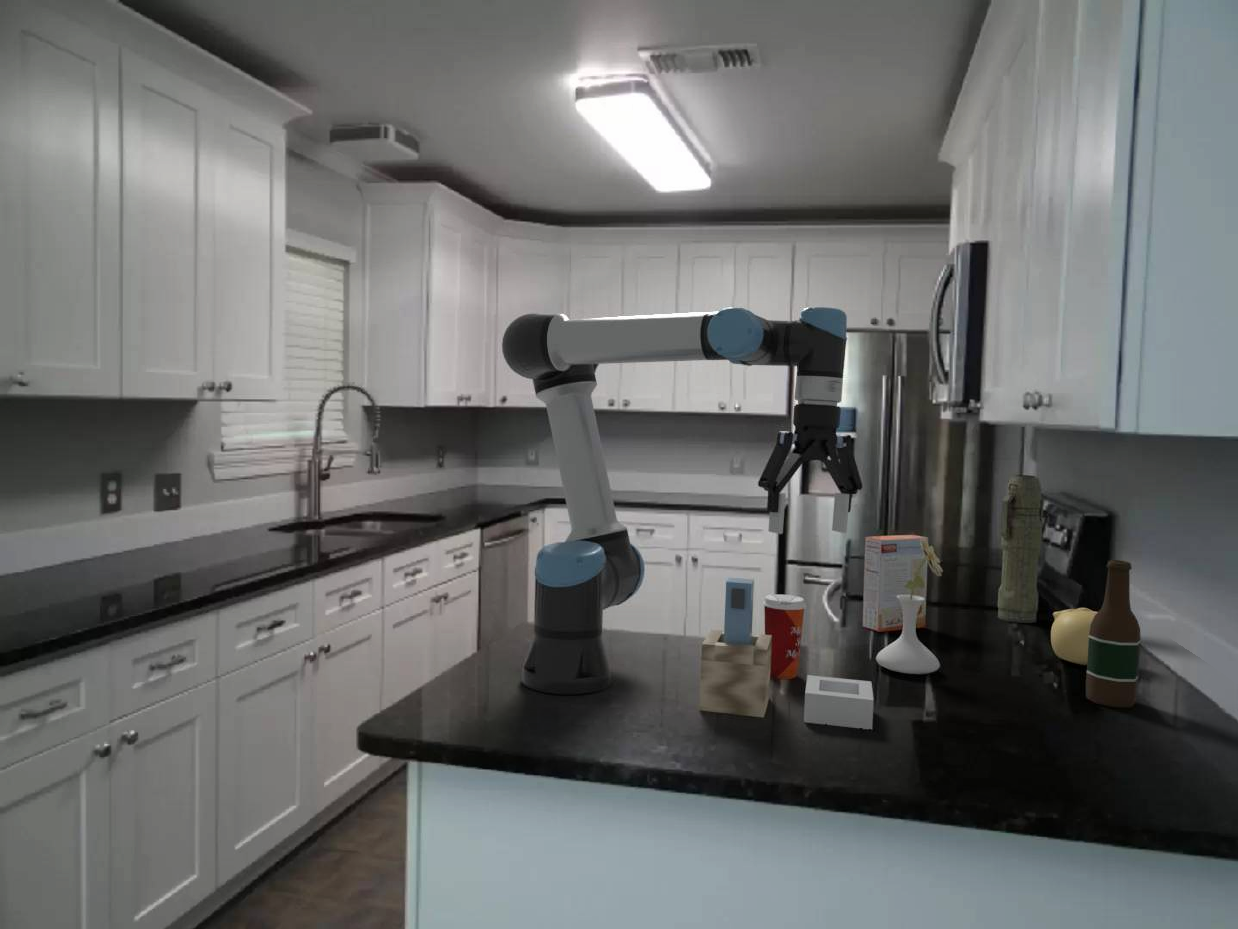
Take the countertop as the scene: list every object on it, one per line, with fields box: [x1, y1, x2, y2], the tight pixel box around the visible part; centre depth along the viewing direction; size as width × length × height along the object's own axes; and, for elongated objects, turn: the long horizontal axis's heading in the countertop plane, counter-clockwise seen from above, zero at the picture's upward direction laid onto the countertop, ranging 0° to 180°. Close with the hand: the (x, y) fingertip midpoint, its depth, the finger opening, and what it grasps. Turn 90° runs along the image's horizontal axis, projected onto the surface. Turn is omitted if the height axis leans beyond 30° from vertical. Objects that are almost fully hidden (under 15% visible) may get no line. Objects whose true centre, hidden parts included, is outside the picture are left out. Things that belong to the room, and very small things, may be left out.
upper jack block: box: [699, 629, 772, 719], centre depth 141 cm, size 10×10×10 cm
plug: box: [723, 577, 755, 645], centre depth 141 cm, size 4×5×12 cm
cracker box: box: [862, 534, 929, 633], centre depth 200 cm, size 14×6×21 cm, turn 116°
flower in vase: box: [875, 536, 944, 675], centre depth 165 cm, size 13×11×25 cm
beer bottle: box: [1085, 559, 1141, 709], centre depth 149 cm, size 8×8×24 cm
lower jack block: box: [803, 674, 875, 731], centre depth 138 cm, size 10×10×4 cm
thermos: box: [997, 474, 1045, 624], centre depth 214 cm, size 9×12×35 cm
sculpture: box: [1050, 607, 1099, 666], centre depth 175 cm, size 12×12×11 cm
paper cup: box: [762, 593, 807, 680], centre depth 159 cm, size 8×8×14 cm
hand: (808, 532), depth 146 cm, fingers open, 13 cm apart
